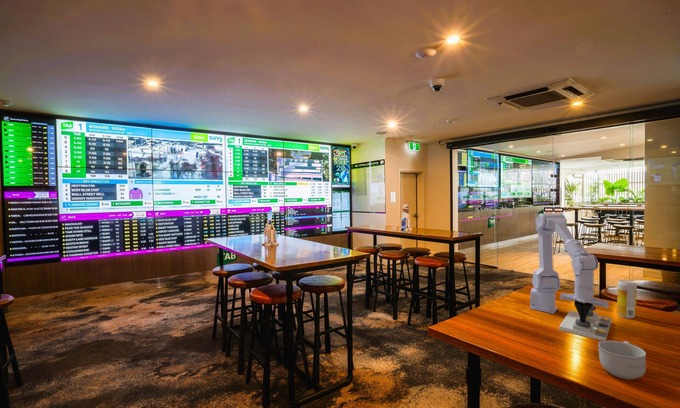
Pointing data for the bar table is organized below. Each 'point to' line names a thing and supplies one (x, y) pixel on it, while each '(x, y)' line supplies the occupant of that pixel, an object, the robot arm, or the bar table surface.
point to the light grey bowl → (622, 359)
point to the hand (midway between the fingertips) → (583, 321)
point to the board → (595, 331)
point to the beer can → (626, 299)
